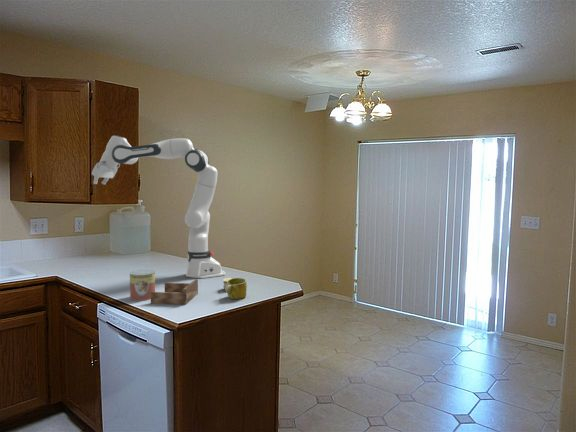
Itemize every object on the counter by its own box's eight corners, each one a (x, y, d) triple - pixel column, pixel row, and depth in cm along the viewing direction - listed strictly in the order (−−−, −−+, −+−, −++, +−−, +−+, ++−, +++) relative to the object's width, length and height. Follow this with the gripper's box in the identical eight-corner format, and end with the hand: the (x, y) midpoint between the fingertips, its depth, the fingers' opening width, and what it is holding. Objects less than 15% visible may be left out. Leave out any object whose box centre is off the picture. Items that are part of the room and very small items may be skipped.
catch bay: (150, 303, 194) (150, 288, 193) (165, 292, 212) (165, 278, 211) (186, 304, 192) (185, 289, 192) (197, 293, 211) (197, 279, 210)
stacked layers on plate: (217, 288, 221) (217, 278, 221) (234, 287, 225) (234, 276, 225) (222, 293, 212) (222, 282, 212) (240, 291, 216) (240, 280, 215)
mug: (236, 288, 213) (237, 271, 209) (250, 298, 207) (252, 281, 203) (217, 298, 204) (218, 280, 200) (231, 308, 199) (232, 290, 194)
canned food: (129, 301, 196) (128, 275, 195) (131, 295, 207) (130, 270, 206) (155, 299, 199) (154, 274, 198) (155, 293, 210) (155, 269, 209)
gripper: (104, 162, 235) (94, 185, 236) (121, 165, 255) (112, 186, 256) (94, 157, 235) (84, 181, 236) (112, 160, 256) (102, 182, 257)
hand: (99, 184), depth 246 cm, fingers open, 8 cm apart
